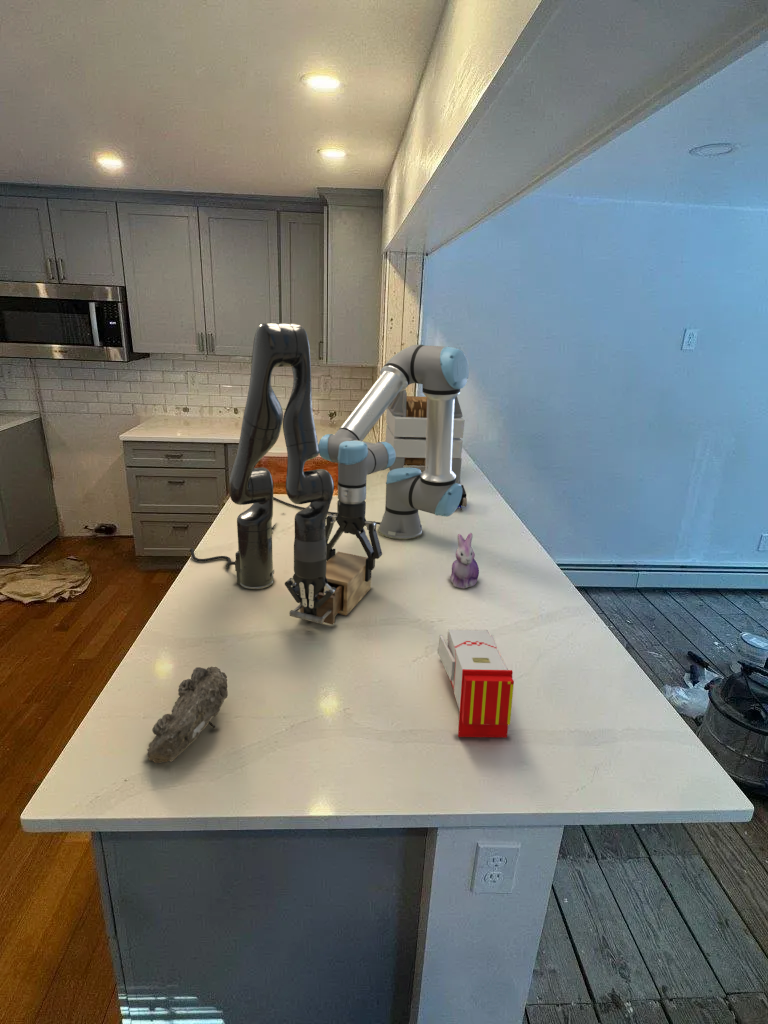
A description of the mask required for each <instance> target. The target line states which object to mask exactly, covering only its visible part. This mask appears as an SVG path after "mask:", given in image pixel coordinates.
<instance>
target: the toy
mask: <svg viewBox="0 0 768 1024" xmlns="http://www.w3.org/2000/svg"><path fill="white" fill-rule="evenodd" d="M446 640H447V643H446V641H445V639H444V636H443V635H442V634H439V637H438V646H437V656H438V657H439V659H440V661H441V663H442V666H443V668H444V670H445V672H446V674H447V677H448V679H449V681H450V684H451V687H452V690H453V693H454V697H455V701H456V705H457V708H458V711H459V714H458V715H459V716H458V730H457V731H458V732H457V737H458V738H508V731H509V726H510V725H511V717H512V707H513V697H514V696H513V695H514V684H515V680H514V679H513V673H514V671H513V670H512V669H508V667H507V665H506V662H505V661H504V659H503V658H502V655H501V653H500V651H499V649H498V647H497V643H496V639H495V637H494V635H493V634H491V632H490V631H489V629H467V628H466V629H465V628H463V629H461V628H460V629H459V628H448V630H447V639H446Z"/></svg>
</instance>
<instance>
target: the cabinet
mask: <svg viewBox="0 0 768 1024" xmlns="http://www.w3.org/2000/svg"><path fill="white" fill-rule="evenodd" d="M367 558H368V556H363V555H356V554H352V553H348V552H342V551H337V552H335V555H334V556H332V557H331V558H330V559H329V560H328V561H326V578H327V580H328V582H330V583H335V584H339V585H344V603H343V608H342V609H341V610H340V612H339V613H338V614H337V615H343V616H348V615H349V614H350V613H351V611H352V610H353V609H354V608H356V606H357V605H358V604H359V603H360V601H362V600H363V598H364V597H365V596H366V595H367V594H368V593H369V592H370V590H371V589H372V578H371V579H370V580H369V581H368V582H366V581H365V571H366V559H367Z"/></svg>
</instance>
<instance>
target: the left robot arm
mask: <svg viewBox="0 0 768 1024" xmlns="http://www.w3.org/2000/svg"><path fill="white" fill-rule="evenodd" d="M311 362H312V361H311V349H310V342H309V337H308V333H307V331H306V329H305V327H304V326H302V325H301V324H299V323H295V322H294V323H293V322H263V323H261V324H260V325H258V327H257V328H256V331H255V333H254V338H253V343H252V354H251V365H250V378H249V385H248V390H247V391H248V392H247V396H246V397H247V398H246V403H245V407H244V411H243V416H242V422H241V427H240V436H239V441H238V446H237V450H236V451H237V452H236V454H235V458H234V461H233V464H232V468H231V471H230V475H229V479H228V494H229V497H230V500H231V502H233V503H234V504H236V505H239V506H245V505H251V506H250V507H249V508H247V509H246V510H244V511H242V512H241V513H240V514H239V515H237V517H236V530H237V531H236V532H237V549H238V550H237V551H236V552H235V561H232V560H231V559H232V558H230V557H229V556H227V555H217V556H213V557H206V558H198V557H196V556H195V549H194V547H190V549H189V552H190V555H191V558H192V560H194V561H196V562H199V563H205V562H210V561H215V560H227V562H226V565H225V568H226V569H229V568H230V566H234V570H235V573H236V574H235V575H236V584H237V585H240V586H241V587H242V588H244V589H247V590H262V589H266V588H268V587H270V586H271V585H273V583H274V574H275V569H274V561H273V560H274V558H273V530H272V527H273V524H272V523H273V516H274V499H273V497H274V480H273V475H272V473H271V472H270V470H269V469H268V468H267V467H263V466H261V467H256V465H257V464H258V463H259V462H260V461H261V460H262V459H263V458H264V457H265V456H266V455H267V454H268V452H269V451H271V449H272V448H273V447H274V446H275V444H276V443H277V441H278V439H279V438H280V434H281V430H282V429H283V437H284V441H285V447H286V452H287V454H286V455H287V462H286V477H285V492H286V496H287V497H288V499H289V500H290V501H291V502H292V503H293V504H294V505H304V504H305V505H306V504H309V505H308V506H307V507H304V508H305V509H300V510H299V511H297V513H296V514H295V515H294V541H293V572H294V574H293V575H292V577H290V578H289V579H287V580H286V581H285V582H284V586H285V588H286V589H287V590H288V592H289V593H290V595H291V596H292V598H293V599H294V601H295V602H296V603H297V604H300V603H301V604H303V606H304V613H306V614H310V615H314V616H316V615H317V608H319V607H320V606H321V605H322V604H323V603H324V602H325V601H326V600H327V599H328V598H329V597H330V596H331V595H332V594H333V593H334V592H335V591H336V588H335V587H332V588H331V587H330V586H329V585H328V584H327V583H328V580H327V578H326V555H327V550H326V548H327V546H326V536H325V535H326V517H327V516H328V512H329V511H330V507H331V504H332V500H333V497H334V492H335V483H334V479H333V476H332V474H331V473H330V472H329V471H328V470H327V469H324V468H318V469H310V470H304V468H305V464H306V462H308V461H310V460H313V459H315V458H317V457H318V456H320V454H319V440H318V434H317V430H316V429H317V428H316V425H315V418H314V411H313V392H312V391H313V389H312V387H313V386H312V365H311ZM287 367H289V368H291V371H292V379H293V383H292V390H291V394H290V396H289V399H288V401H287V404H286V407H285V410H284V409H283V407H282V405H281V403H280V400H279V399H278V397H277V395H276V393H275V391H274V388H273V385H272V373H273V370H274V369H275V368H287ZM323 588H324V596H323V597H322V598H321V599H319V600H318V596H319V593H320V591H321V590H322V589H323Z"/></svg>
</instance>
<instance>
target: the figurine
mask: <svg viewBox="0 0 768 1024" xmlns="http://www.w3.org/2000/svg"><path fill="white" fill-rule="evenodd" d="M473 538H474V537H473V533H472V532H470V533H468V534H467V537H466V538H465V539H464V537H463V536H462V534H461V533H458V534H457V549H456V551H455V558H456V560H454V561H453V562H452V565H451V574H450V582H451V583H452V585H453V586H454V587H455V588H460V589H467V588H471V587H474V586H475V585H476V584H477V583H478V579H479V577H480V569H479V564H478V562H477V560H476V558H475V557H476V553H475V551H474V548H473V546H472V542H473Z"/></svg>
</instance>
